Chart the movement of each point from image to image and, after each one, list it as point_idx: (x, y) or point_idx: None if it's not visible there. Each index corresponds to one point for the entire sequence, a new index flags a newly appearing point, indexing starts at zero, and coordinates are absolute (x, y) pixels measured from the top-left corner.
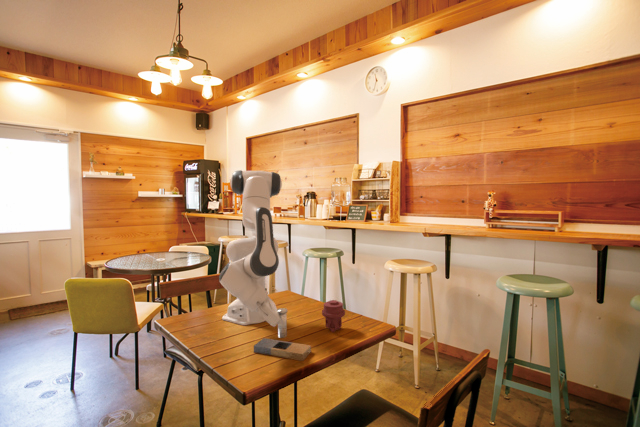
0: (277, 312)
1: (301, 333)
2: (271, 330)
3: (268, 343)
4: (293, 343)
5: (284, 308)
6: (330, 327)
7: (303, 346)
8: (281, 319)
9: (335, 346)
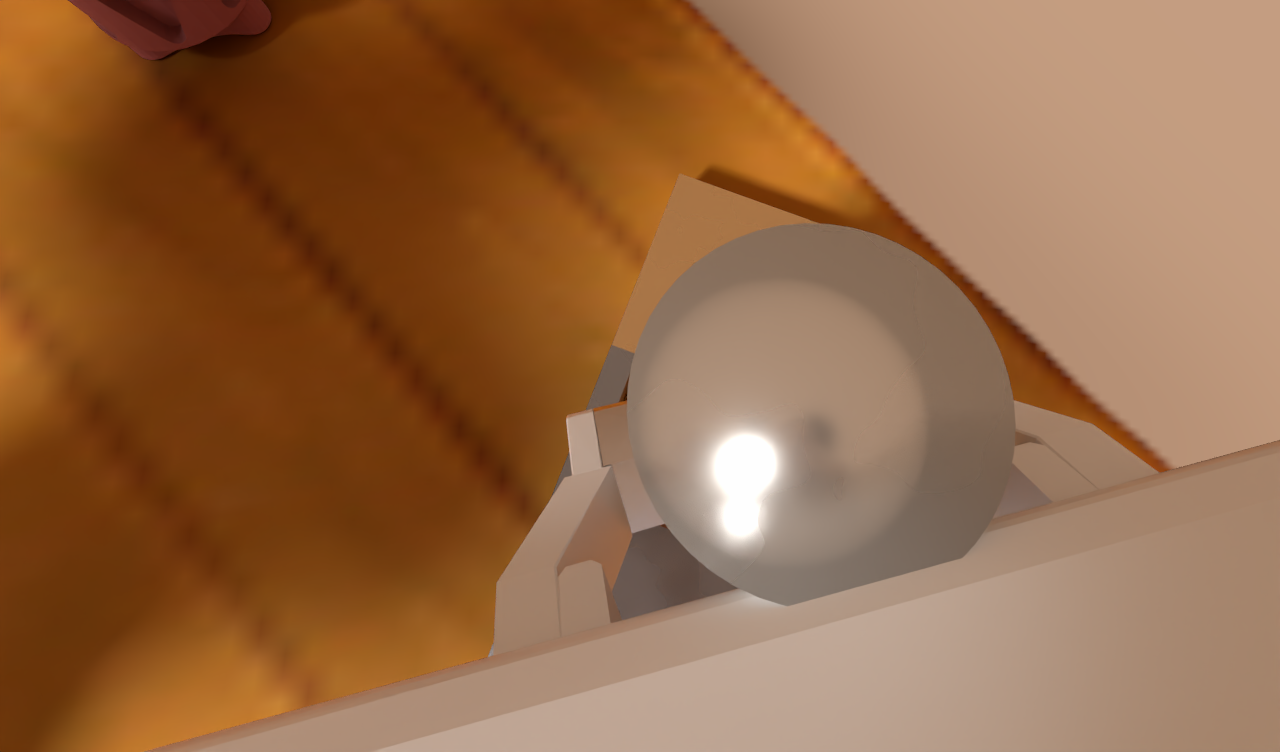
0: (1274, 521)
1: (259, 303)
2: (121, 646)
3: (623, 612)
4: (631, 339)
5: (668, 334)
6: (228, 3)
7: (699, 239)
8: (1026, 405)
9: (575, 15)
